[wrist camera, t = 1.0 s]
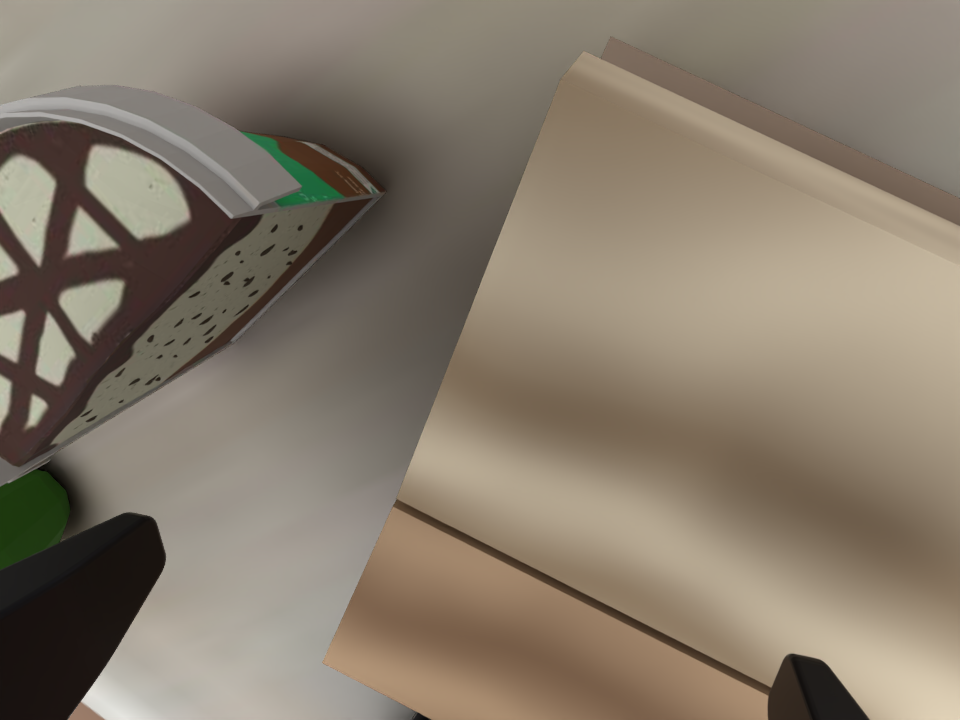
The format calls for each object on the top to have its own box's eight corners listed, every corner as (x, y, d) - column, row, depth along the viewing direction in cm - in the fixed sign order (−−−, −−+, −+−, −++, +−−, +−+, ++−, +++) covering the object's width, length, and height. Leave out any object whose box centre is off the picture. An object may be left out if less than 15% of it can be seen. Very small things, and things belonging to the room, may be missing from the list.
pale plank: (1046, 773, 17) (1065, 835, 16) (417, 459, 18) (396, 498, 17) (1839, 636, 9) (1988, 748, 8) (583, 51, 9) (560, 79, 8)
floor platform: (815, 744, 26) (879, 951, 19) (394, 531, 26) (322, 662, 20) (1250, 355, 17) (1618, 494, 11) (614, 59, 18) (609, 27, 12)
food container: (290, 10, 19) (-1, -85, 10) (416, 162, 20) (249, 197, 11) (104, 249, 24) (-204, 327, 15) (212, 364, 25) (-18, 501, 16)
